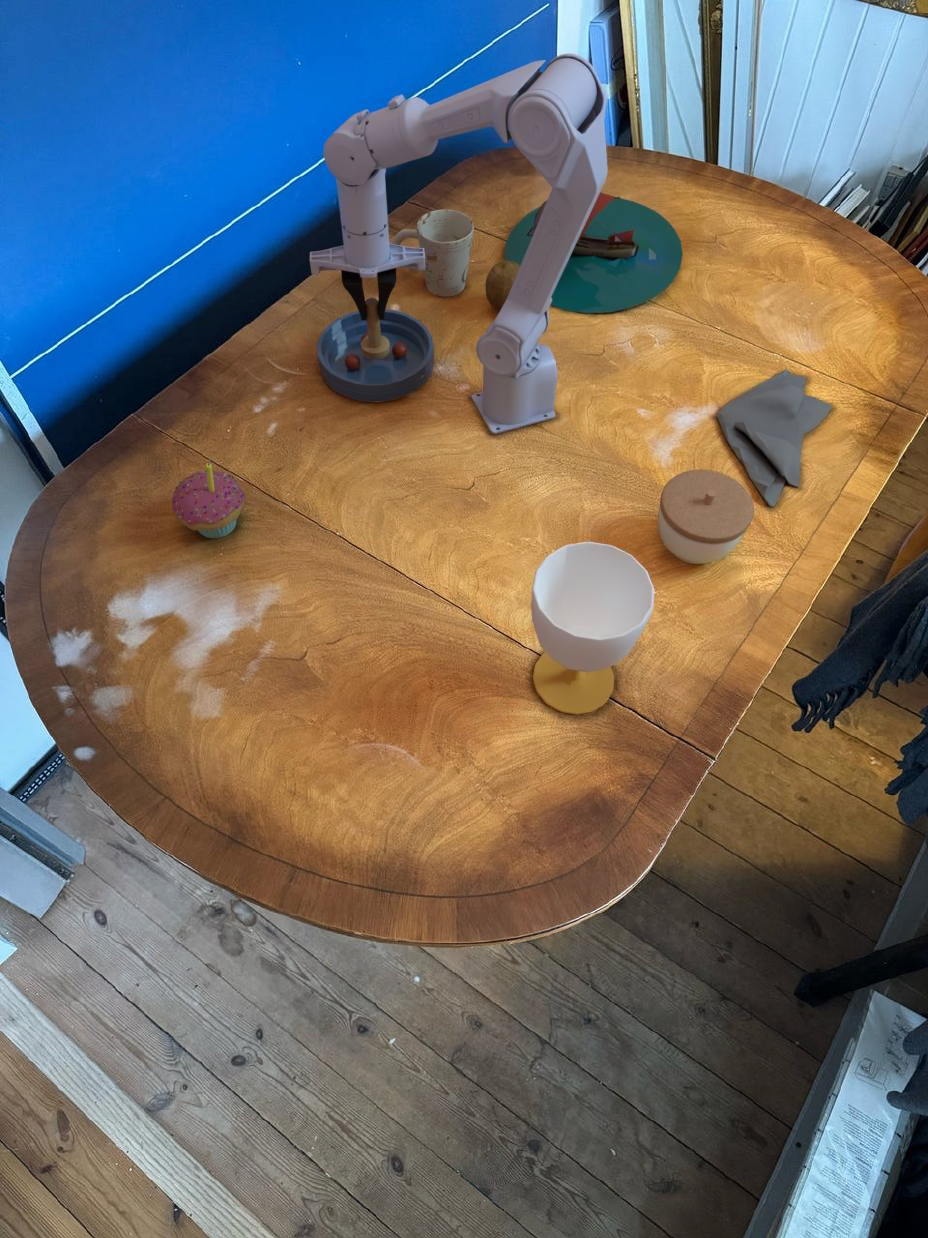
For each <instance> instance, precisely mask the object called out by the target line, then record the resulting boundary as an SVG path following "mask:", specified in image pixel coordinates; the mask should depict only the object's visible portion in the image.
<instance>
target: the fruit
mask: <svg viewBox="0 0 928 1238" xmlns="http://www.w3.org/2000/svg"><path fill="white" fill-rule="evenodd" d="M519 268H520V266H519V264H517V263H515V262H513V261H505V260H501V261H498V262H496V263H494V265H493V266H492V267H491V269H490V271H489V272H488V274H487V275H486V279H485V297H486V300H487V302H488V303H489V305H490V306H491V308H492V309H493V310H495V311H496V312H498V313H499V312H500V310H501V309H502V307H503V305H504V303H505V301H506V300H507V298H508V295H509V293H510V290H511V288H512V285H513V283H514V281H515V278H516V276H517V273H518V271H519Z"/></svg>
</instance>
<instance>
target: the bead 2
mask: <svg viewBox="0 0 928 1238" xmlns="http://www.w3.org/2000/svg"><path fill="white" fill-rule="evenodd" d="M392 354H393V355H394V356H395V357H396V358H398V359H401V358H404V357H405V356H406V354H407V347H406V345H405V344H403V343H396V344H394V346H393V347H392Z"/></svg>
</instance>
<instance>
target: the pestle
mask: <svg viewBox="0 0 928 1238" xmlns="http://www.w3.org/2000/svg"><path fill="white" fill-rule="evenodd" d="M365 308H366V318H367V331H368V336H367V337H365V338H364V339H363V340H362V342H361V351H362V354H363V356H365V357H366V358H368V359H371V360H379V359H383V358H385V357H386V356H387V355H388V354H389V352H390V343H389V340H388V339H387V338H386V337H384V336H382V335H381V329H380V320H379V303H378V299H377V298H374V297H370V298H367V299H365Z"/></svg>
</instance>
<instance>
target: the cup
mask: <svg viewBox="0 0 928 1238" xmlns="http://www.w3.org/2000/svg"><path fill="white" fill-rule="evenodd" d="M655 591H656V589H655V587H654V584H653V581H652V580H651V577H650V574H649V572H648V570H647V569H646V568H645V567H644V566H643V565H642V564H641V563H640V562H639V561H638V559H636V558H635V557H634V556H633V555H632V554H630V553H629V552H627V551H624V550H622V549H620V548H618V547H616V546H615V545H612V544H607V543H601V542H594V541H582V542H577V543H570V544H565V545H563V546H561V547H559V548H558V549H556V550H554V551H552V552H551V553H549V554H547V555H546V556H545V558H544V559H543V560H542V561H541V563H540V564H539V566H537V568H536V569H535V572H534V576H533V582H532V587H531V599H530V601H531V602H530V609H531V621H532V625H533V628H534V631H535V634H536V637H537V640H538V641H537V642H538V643H539V646H540V647H541V649H542V650H543V651H544V652H542V653H541V655H540V657H539V658H538V659H537V661H536V662H535V663H534V668H533V674H532V682H533V684H534V688H535V691H536V693H537V695H538V696H539V697H540V698H541V699H542V700H543V702H544V703H545V705H547V706H549V707H551V708H552V709H554V710H555V711H558V712H560V713H562V714H563V713H564V714H570V715H583V714H588V713H594V712H595V711H596V710H598V709H599V708H601V707H602V706H604V705H605V704H606V703H607V702H608V700H609V698H610V697H611V695H612V694H613V691H614V686H615V685H614V684H615V675H614V673H613V669H612V667H614V666H615V665H616V664H618V663H619V662H621V661H622V660H624V659H625V658H626V657H627V656H628V655H629V654H630V653H631V651H632V650H633V648H634V646H635V645H636V643H637V642H638V640H639V638H640V637H641V635H642V633H643V631H644V630H645V628H646V627H647V625H648V623H649V621H650V618H651V616H652V612H653V611H654V603H655Z"/></svg>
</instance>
